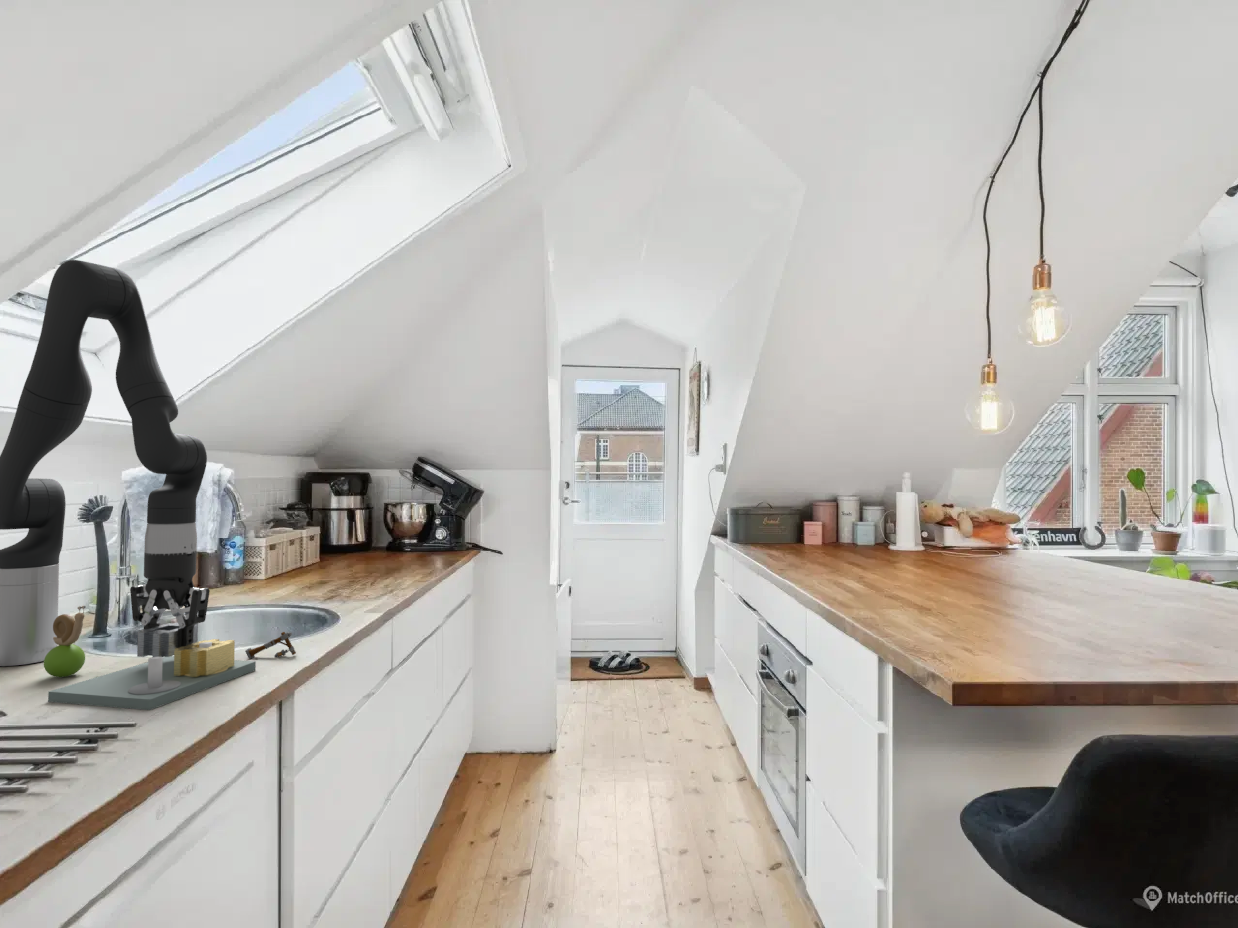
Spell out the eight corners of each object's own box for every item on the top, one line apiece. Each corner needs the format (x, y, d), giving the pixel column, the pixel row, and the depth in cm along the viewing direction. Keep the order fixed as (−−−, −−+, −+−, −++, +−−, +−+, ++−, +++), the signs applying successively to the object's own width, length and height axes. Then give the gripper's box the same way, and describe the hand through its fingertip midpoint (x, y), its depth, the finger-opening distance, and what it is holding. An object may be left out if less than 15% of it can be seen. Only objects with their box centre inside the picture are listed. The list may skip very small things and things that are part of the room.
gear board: (48, 701, 101) (49, 661, 102) (167, 664, 122) (168, 630, 122) (149, 709, 98) (150, 667, 98) (255, 670, 118) (255, 635, 119)
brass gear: (169, 675, 109) (169, 650, 109) (208, 662, 117) (208, 638, 117) (201, 677, 108) (201, 651, 108) (238, 663, 116) (239, 640, 116)
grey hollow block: (132, 656, 113) (133, 631, 113) (172, 644, 121) (173, 621, 121) (163, 658, 112) (164, 634, 112) (201, 646, 120) (202, 623, 120)
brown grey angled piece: (298, 652, 127) (288, 629, 127) (255, 672, 126) (244, 649, 126) (301, 650, 129) (291, 627, 129) (258, 669, 128) (248, 647, 128)
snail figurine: (64, 682, 111) (66, 608, 111) (34, 680, 112) (36, 607, 113) (97, 673, 116) (98, 603, 116) (68, 671, 118) (69, 601, 118)
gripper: (115, 550, 115) (112, 650, 114) (189, 553, 112) (186, 656, 112) (154, 545, 122) (151, 639, 122) (224, 548, 119) (221, 645, 119)
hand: (168, 647), depth 117 cm, fingers closed on grey hollow block, 6 cm apart
